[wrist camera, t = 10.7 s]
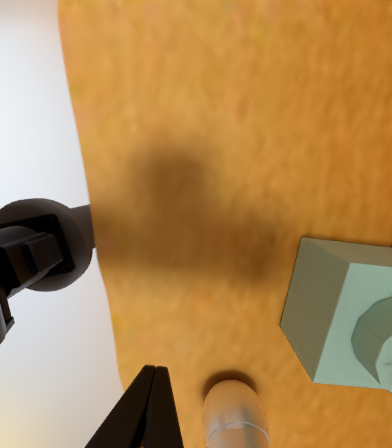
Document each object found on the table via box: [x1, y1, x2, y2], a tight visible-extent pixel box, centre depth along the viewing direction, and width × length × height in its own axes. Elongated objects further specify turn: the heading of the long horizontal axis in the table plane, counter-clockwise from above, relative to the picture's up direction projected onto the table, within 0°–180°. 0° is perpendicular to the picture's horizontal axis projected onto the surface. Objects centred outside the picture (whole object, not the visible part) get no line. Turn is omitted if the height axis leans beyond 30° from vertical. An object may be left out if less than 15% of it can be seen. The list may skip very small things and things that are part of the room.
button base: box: [280, 237, 392, 393], centre depth 16 cm, size 10×10×8 cm
